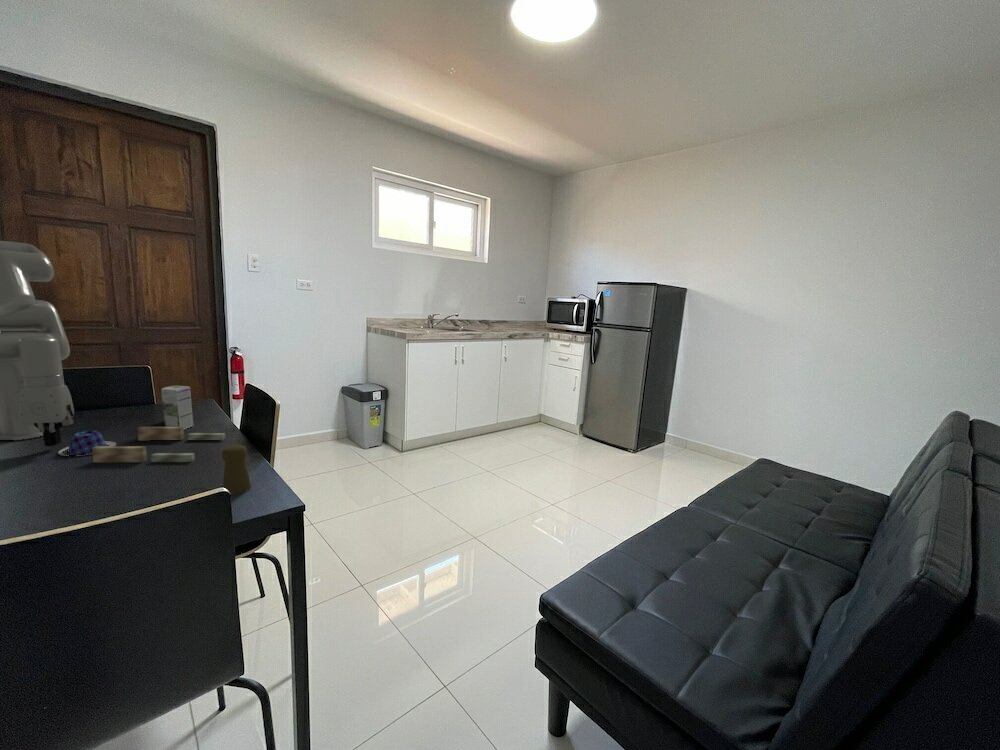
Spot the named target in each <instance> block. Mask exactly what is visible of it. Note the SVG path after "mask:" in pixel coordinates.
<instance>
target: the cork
mask: <svg viewBox="0 0 1000 750" xmlns="http://www.w3.org/2000/svg"><path fill="white" fill-rule="evenodd" d="M247 456H248V449H247V447H246V446H244V445H241V444H233V445H228V446H226V447H225V448H224V449H223V450H222V452H221V458H222V460H223V461H224V470H223V480H222V481H223V482H222V488H223V487H224V488H226V489H228V490H229V491H230V493H232V494H236V495H241V494H243V492H244V493H247V492H248V491H250V490H251V489H250V488H252V483H251V481H250V480H251V479H250V476H249V471H248V466H247V461H246V458H247ZM249 489H250V490H249ZM247 490H248V491H247ZM246 491H247V492H246ZM232 494H231V495H230V496H233V495H232Z"/></svg>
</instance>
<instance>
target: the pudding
mask: <svg viewBox="0 0 1000 750" xmlns="http://www.w3.org/2000/svg"><path fill="white" fill-rule="evenodd" d="M107 445H109V446H117V442H115V441H109V440H108V441H107V440H105V439H104V436H103V435H102V432H100V431H99V430H85V431H81V432H80V431H79V432H76V433H75V434H73V435H72V436H71V438H70V442H69V446H66V447H64V448H62V449H60V450H59V451H58V452H57V454H58V455H60V456H64V457H66V456H67V457H70V456H69V455H64V454H63V453H62V452H63V451H65V450H67V449H69V450H68V452H70V453H71V454H76V456H75V457H80V456H81V457H82V455H79V454H84V455H85V454H86V455H85V456H89V455H90V454H92V448H93V447H96V446H107ZM70 453H69V454H70ZM88 453H89V454H88ZM71 454H70V455H71Z"/></svg>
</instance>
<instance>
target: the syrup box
mask: <svg viewBox="0 0 1000 750" xmlns="http://www.w3.org/2000/svg"><path fill="white" fill-rule="evenodd" d="M160 390H161V391H160V392H161V402H162V409H163V410H162V412H163V421H164V423H163V424H164V427H183V431H185V429H186V430H188V429H187V428H189V429H191V428H190V427H192V426H193V427H194V419H193V418H194V416H193V408H192V407H193V406H192V396H191V395H192V394H191V386H186V385H185V386H184V385H169V386H165V387H163V388H161V389H160ZM193 427H192V428H193Z"/></svg>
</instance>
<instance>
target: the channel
mask: <svg viewBox="0 0 1000 750" xmlns="http://www.w3.org/2000/svg"><path fill="white" fill-rule="evenodd" d="M136 429H137V438H138V441H150V440H182V439H183V440H185V432H184V431H185V430H183V427H165V426H139V427H137V428H136ZM224 439H225V440H226V433H225V432H223V433H222V432H218V433H217V432H215V433H214V432H210V433H209V432H190V433H188V434H187V440H223V441H225V440H224ZM183 440H182V441H183ZM91 455H92V460H93V463H145V462H147V461H148V454H147V446H145V445H143V446H140V445H138V446H137V445H135V446H134V445H133V446H131V445H130V446H129V445H128V446H127V445H126V446H125V445H122V446H121V445H120V446H117V445H116V446H96V447H93V448H92V453H91ZM150 458H151V463H193V462H194V461H196V458H195V452H168V453H167V452H155V453H153V454H151V455H150Z"/></svg>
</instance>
